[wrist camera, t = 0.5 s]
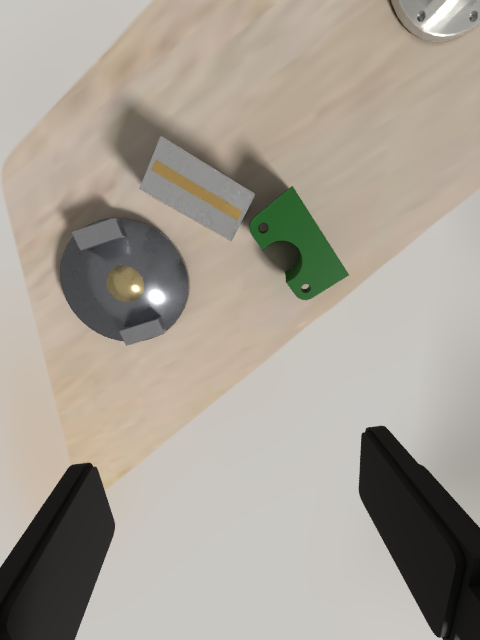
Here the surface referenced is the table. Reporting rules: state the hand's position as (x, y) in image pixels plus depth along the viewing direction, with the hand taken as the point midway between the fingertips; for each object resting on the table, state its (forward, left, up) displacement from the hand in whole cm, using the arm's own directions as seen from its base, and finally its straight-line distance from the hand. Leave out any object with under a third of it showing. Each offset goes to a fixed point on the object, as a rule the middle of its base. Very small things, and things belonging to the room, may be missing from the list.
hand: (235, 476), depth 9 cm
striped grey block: (-10, -8, -27) cm, 30 cm away
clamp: (-10, +4, -27) cm, 29 cm away
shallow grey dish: (+3, -12, -27) cm, 29 cm away
